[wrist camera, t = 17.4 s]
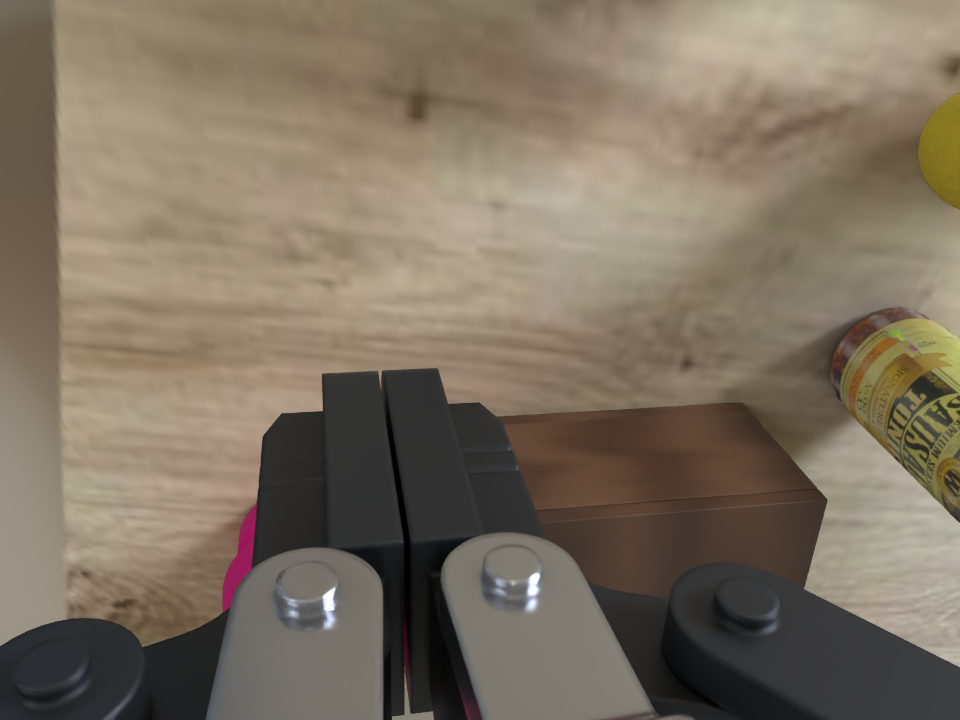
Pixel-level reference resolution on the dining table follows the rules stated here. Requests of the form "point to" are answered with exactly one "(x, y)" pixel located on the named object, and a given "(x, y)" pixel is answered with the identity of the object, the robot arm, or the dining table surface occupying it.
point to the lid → (689, 538)
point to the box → (648, 456)
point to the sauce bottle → (906, 394)
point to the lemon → (942, 151)
